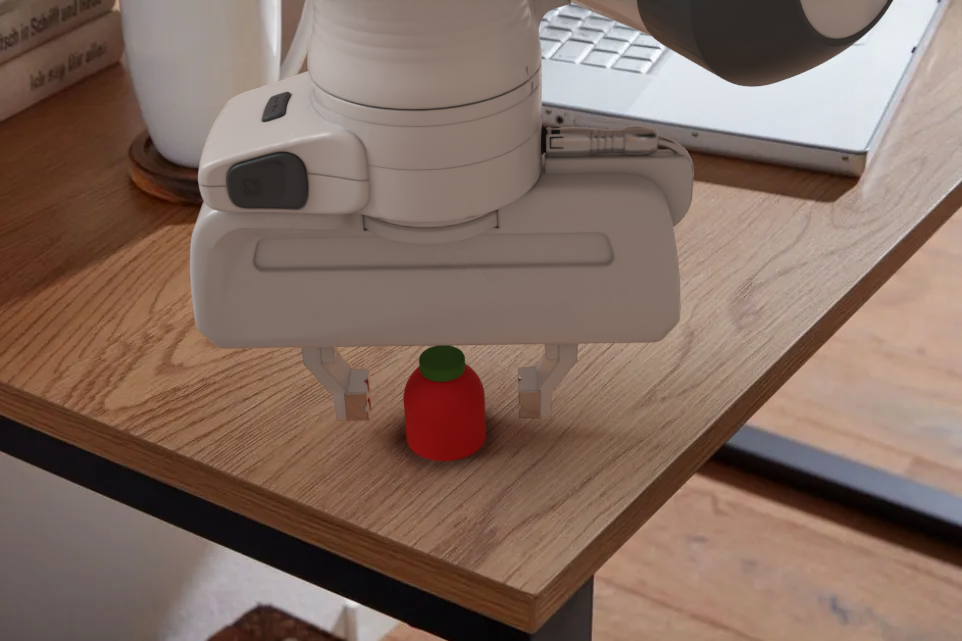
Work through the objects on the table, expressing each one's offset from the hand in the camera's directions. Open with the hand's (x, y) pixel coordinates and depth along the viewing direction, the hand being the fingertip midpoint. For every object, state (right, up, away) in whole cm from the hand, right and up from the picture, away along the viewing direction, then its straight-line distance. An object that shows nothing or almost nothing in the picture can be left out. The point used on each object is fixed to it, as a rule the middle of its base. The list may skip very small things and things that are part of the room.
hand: (444, 412), depth 60 cm
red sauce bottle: (0, -1, +1) cm, 2 cm away
